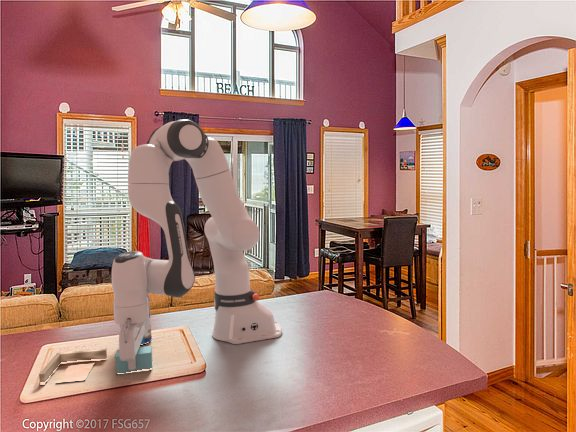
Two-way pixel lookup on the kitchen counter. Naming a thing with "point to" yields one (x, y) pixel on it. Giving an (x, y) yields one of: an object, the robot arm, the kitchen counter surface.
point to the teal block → (141, 358)
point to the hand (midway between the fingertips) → (134, 363)
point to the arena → (70, 357)
